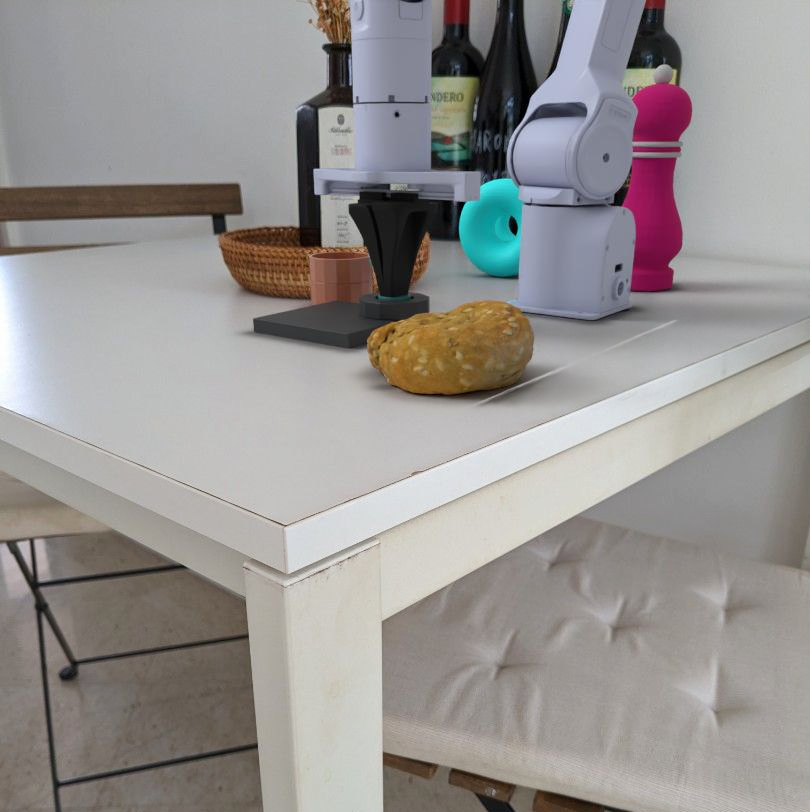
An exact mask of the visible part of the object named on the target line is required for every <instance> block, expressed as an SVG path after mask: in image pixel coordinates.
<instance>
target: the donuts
mask: <svg viewBox="0 0 810 812" xmlns="http://www.w3.org/2000/svg"><path fill="white" fill-rule="evenodd" d="M464 203H465V204H464V205H463V208H462V210H461V214H460V217H459V221H458V222H459V223H458V235H459V241H460V244H461V247H462V250H463V252H464V254H465V256H466V257H467V259H468V260H469V262H471V264H472V265H473V266H475V267H476V268H477V269H478V270H479V271H481V272H483V273H485V274H487V275H489V276H492V277H498V278H504V277H505V278H507V277H508V278H509V277H513V276H516V275H519V262H520V242H521V222H522V204H523V203H526V202H523V201H521V200H519V189H518V188H517V187H516V185H515V184H514V183H513V181H512V180H511V177H510V178H496V179H492V180H490V181H487V182H485V183H483V184H482V185H481V186H480V200H478V201H468V202H464ZM511 217H512V218H514V220H515V222H516V224H517V233H516V235H515V234H514V233H513V232H512V231H511V228H510V218H511Z"/></svg>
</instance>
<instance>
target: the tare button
mask: <svg viewBox="0 0 810 812" xmlns="http://www.w3.org/2000/svg"><path fill="white" fill-rule="evenodd" d="M410 299H411V295H410V294H408V295H403V296H399V297H394V298H391V297H383V296H380V294H379V295H378V300H384V301H403V300H410Z"/></svg>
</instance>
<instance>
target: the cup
mask: <svg viewBox="0 0 810 812" xmlns="http://www.w3.org/2000/svg"><path fill="white" fill-rule="evenodd" d="M308 267H309V286H310V287H309V288H310V303H311V304H312V306H313V305H317V304H322V303H327V302H331V301H336V300H337V301H345V302H352V303H359V298H360V297H361V296H363V295H366V294H371V293H374V284H373V281H374V280H373V279H374V278H373V275H374V274H373V266H372V262H371V259H370V256H369V253H368V252H363V251H361V252H360V251H325V252H323V251H322V252H317V253H312V254H309V255H308Z"/></svg>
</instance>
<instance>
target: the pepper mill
mask: <svg viewBox="0 0 810 812" xmlns="http://www.w3.org/2000/svg"><path fill="white" fill-rule="evenodd" d="M652 76H653V81H654V84H650V85H647V86H645V87H643V88H641V89H639V90H638V91H636V93H635V94H634V95H633V96H632V98H631V99H632V101H633V102H634V104H635V105H636V107H637V109H638V114H637V117H636V121H635V125H634V129H633V137H632V139H633V156H632V163H631V175H630V181H629V187H628V189H627V193H626V195H625V198H624V200H623V203H622V205H621V207H625V208H628V209H629V210H630V211H631V212H632V213H633V216H634V220H635V227H636V239H635V249H634V259H633V268H632V278H631V288H630V291H631V292H632V291H633V292H660V291H666V290H667V291H668V290H670V289H671V288H672V287H673V283H674V282H673V281H674V274H675V270H674V269H673V268H672V267H670V264H671V262H672V261H673V260H674V259H675V258H676V257H677V255H679V253H680V252H681V250H682V248H683V240H684V239H683V237H684V231H683V225H682V224H683V223H682V221H681V218H680V217H681V216H680V214H679V210H678V206H677V203H676V198H675V192H674V178H675V169H676V164H677V159H678V158H681V157H682V155H683V153H682V152H681V151H682V148H681V147H683V145H684V143H683V141H682V140H681V141H680V139H681V136H682V135H683V133H684V132H685V131H686V130H687V129H688V127H689V126H690V124H691V121H692V116H693V104H692V99H691V96H690V95H689V93H688V92H687V91H686V90H685V89H683V87H681V86H678V85H676V84H673V83H671V81H672V80H673V77H674V70H673V67H671V66H670V65H669V64H661V65H659V66H658V67H657V68H655V70H654V72H653V75H652Z"/></svg>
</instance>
